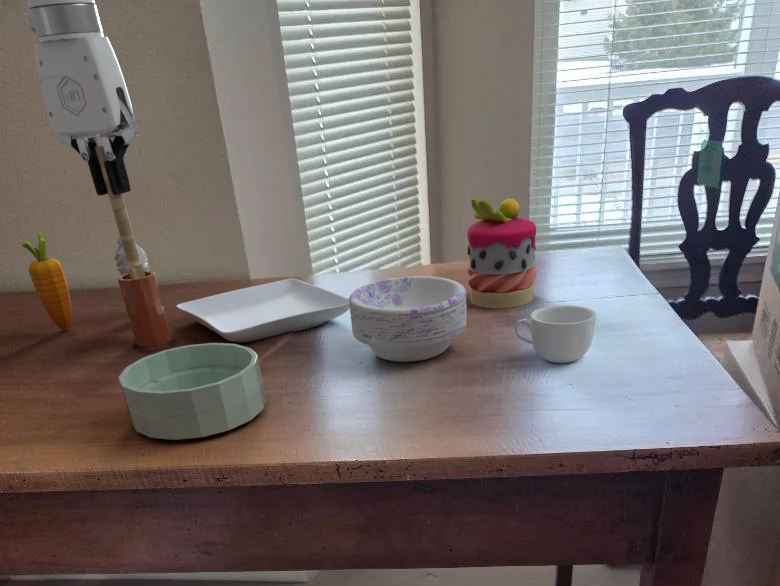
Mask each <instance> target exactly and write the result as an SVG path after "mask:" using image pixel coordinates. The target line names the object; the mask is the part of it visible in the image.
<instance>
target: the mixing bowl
mask: <svg viewBox="0 0 780 586" xmlns="http://www.w3.org/2000/svg"><path fill="white" fill-rule="evenodd" d="M117 379H118V381H119V385H120V388H121V391H122V394H123V398H124V401H125V404H126V408H127V410H128V415H129V417H130V420H131V423H132V426H133V428H134V430H135V432H136V433H139V434H141V435H143V436H146V437H147V438H151V439H160V440H161V439H162V440H171V441H177V440H179V441H180V440H187V439H189V440H190V439H199V438H205V437H209V436H212V435H217V434H220V433H224V432H228V431H231V430H233V429H235V428H237V427H240V426H241V425H244V424H246V423H248V422H250V421H252V420H253V419H254V418H256V416H258V415H259V414H260V413H261V412H262V411H263V410H264V409H265V405H266V401H267V400H266V399H267V397H266V391H265V386H264V381H263V377H262V370H261V365H260V362H259V355H258V354H257V353H256V352H255V351H254V350H253V349H252V348H251V347H249V346H248V347H247V346H244V345H240V344H237V343H229V342H228V343H225V342H208V343H206V342H205V343H198V344H188V345H182V346H179V347H173V348H169V349H165V350H161V351H157V352H155V353H153V354H149V355H147V356H144V357H142V358H140V359H138V360H136V361H134V362H133V363H131V364H129V365H127V366H126V367H125V368H124V369H123V371H122V372H121V373H120V374H119V376H118V378H117Z"/></svg>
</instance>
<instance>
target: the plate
mask: <svg viewBox="0 0 780 586" xmlns="http://www.w3.org/2000/svg"><path fill="white" fill-rule="evenodd" d="M175 307H176V310H177V311H179V312H180V313H181V314H182V315H184V316H185V317H187V318H188V319H190V320H191V321H194V322H197V323H198V324H200V325H202V326H203V327H206V328H208V329H209V330H211V331H213V332H215V333H216V334H218V335H219V336H221V338H223V339H224V340H227V341H229V342H233V343H251V342H255V341H258V340H263V339H267V338H270V337H274V336H278V335H281V334H286V333H289V332H291V333H296V332H299V331H303V330H307V329H311V328H314V327H318V326H321V325H323V324H325V323H326V322H329V321H332V320H334V319H336V318H339V317H340V316H342V315H343V314H346V312H348V311H350V307H349V298H348V297H345V296H344V295H341V294H338V293H336V292H333V291H330V290H328V289H326V288H322V287H319V286H317V285H315V284H312V283H309V282H305V281H304V280H300V279H296V278H286V279H282V280H277V281H271V282H267V283H265V284H264V283H263V284H259V285H253V286H248V287H244V288H239V289H234V290H231V291H227V292H223V293H222V292H221V293H218V294H214V295H209V296H206V297H201V298H198V299H193V300H190V301H185V302H181V303H178V304H176V306H175Z"/></svg>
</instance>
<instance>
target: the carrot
mask: <svg viewBox="0 0 780 586" xmlns="http://www.w3.org/2000/svg"><path fill="white" fill-rule="evenodd" d="M37 239H38V246H33V245H32V244H31V243H30V242H29V241H28V240H24V241H23V242H22V243H21V247H23V248H25V249H26V250H28V252H30V253H31V254H32V255H33V256H34V258H35V260H33V261H31V263H30V264H29V266H28V273H29V276H30V278H31V282H32V284H33V286H34V289H35V292H36V293H37V296H38V299H39V301H40V302H41V304H42V306H43V308H44V309H45V311H46V313H47V315H48V316H49V318H50V319H51V320H52V322H53V323H54V324H55V325H56V327H58V328H59V329H60V330H61V332H69V331H70V330H71V326H72V313H73V310H72V302H71V296H70V290H69V286H68V283H67V279H66V275H65V273H64V268H63V266H62V264H61V262H60V260H58V259H56V258H54V257H53V258H52V257H51V258H50V257H49V258H48V257H47V246H46V245H47V244H46V238H45V234H44V233H42V232H38V233H37Z"/></svg>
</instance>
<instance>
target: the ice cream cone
mask: <svg viewBox="0 0 780 586" xmlns="http://www.w3.org/2000/svg"><path fill="white" fill-rule="evenodd" d="M116 242H117V244H118V247H117V249H116V251H115V256H114V260H115V261H116V267H117V271H118V272H119V274H120V276H122V275H124V274H128V273H129V269H128V268H129V266H128V263H127V259H126V256H125V252H124V249H123V245H122V242H121V238H120V235H118V238H117V241H116ZM136 246H137V250H138V253H139V257H140V261H141V263H142V265H143V269H144V271H150V266H151V265H150V263H149V259H148V258H147V253H146V251H144V249H143V248H142V247H140V246H139V245H138V244H137V243H136Z"/></svg>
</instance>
